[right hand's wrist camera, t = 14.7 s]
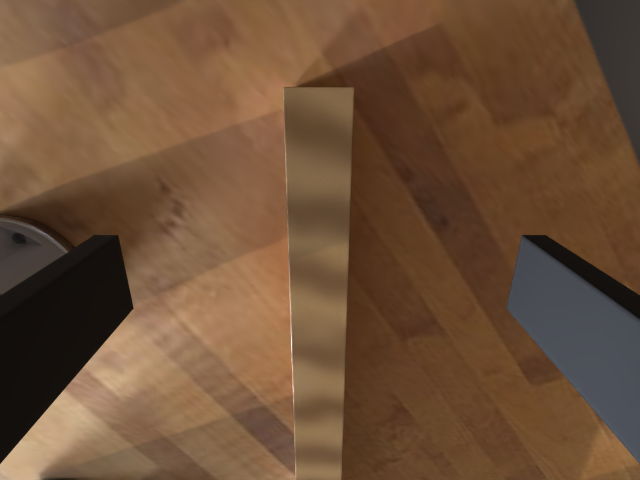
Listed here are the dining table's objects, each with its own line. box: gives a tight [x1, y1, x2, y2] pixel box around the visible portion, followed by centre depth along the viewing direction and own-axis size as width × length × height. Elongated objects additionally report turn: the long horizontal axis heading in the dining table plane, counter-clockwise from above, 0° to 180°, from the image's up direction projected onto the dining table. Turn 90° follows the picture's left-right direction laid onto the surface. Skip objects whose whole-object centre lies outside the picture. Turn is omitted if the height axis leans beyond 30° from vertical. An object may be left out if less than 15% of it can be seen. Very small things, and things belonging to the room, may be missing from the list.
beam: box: [283, 87, 354, 480], centre depth 45 cm, size 72×5×8 cm, turn 0°
